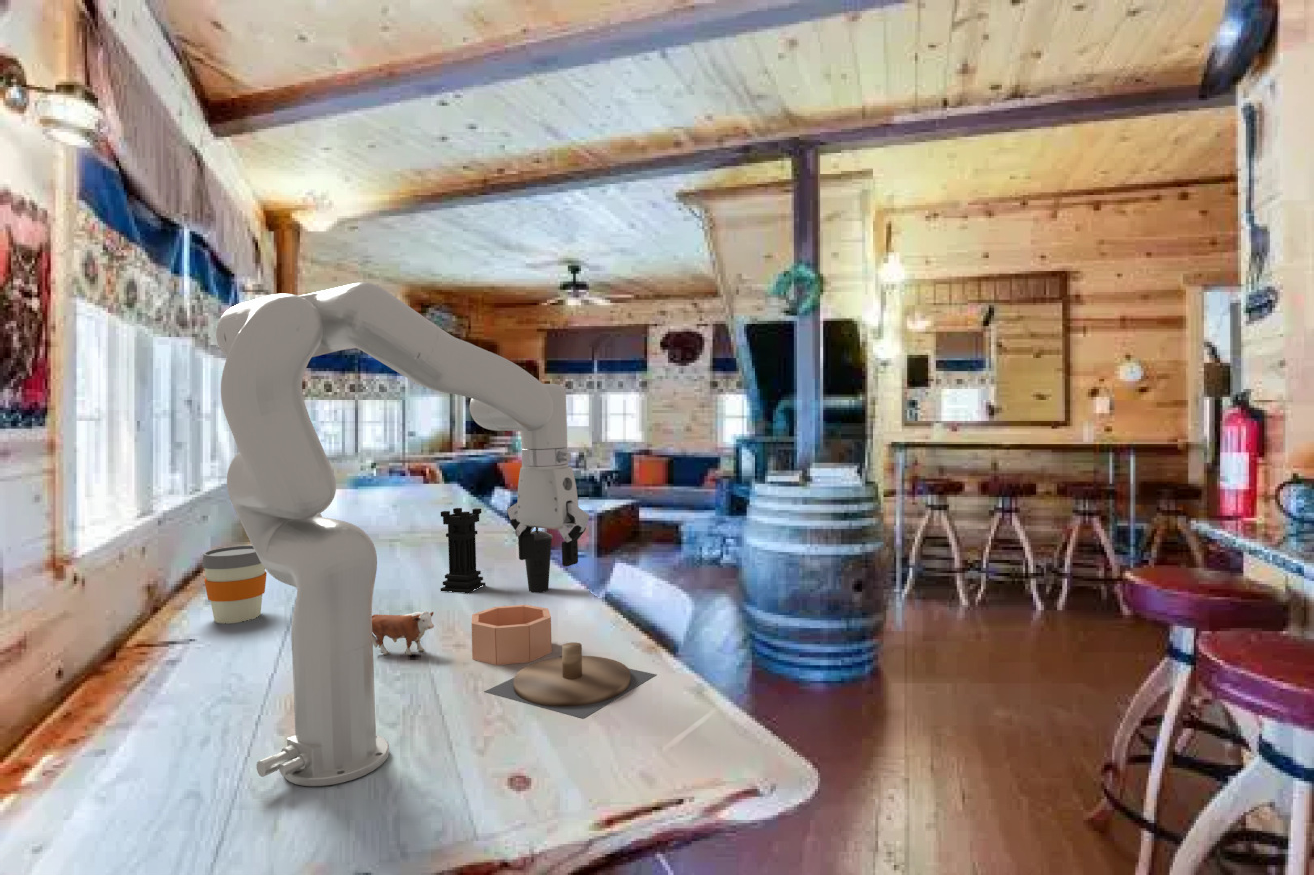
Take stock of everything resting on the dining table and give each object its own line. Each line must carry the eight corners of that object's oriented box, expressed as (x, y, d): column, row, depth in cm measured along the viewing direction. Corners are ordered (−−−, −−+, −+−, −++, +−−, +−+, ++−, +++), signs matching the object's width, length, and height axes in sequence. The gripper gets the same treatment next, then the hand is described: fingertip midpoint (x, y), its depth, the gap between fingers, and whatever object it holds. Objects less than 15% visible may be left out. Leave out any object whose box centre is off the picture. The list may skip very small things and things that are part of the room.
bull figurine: (430, 658, 135) (429, 614, 134) (364, 654, 137) (363, 611, 137) (442, 650, 139) (441, 608, 139) (378, 647, 142) (376, 605, 141)
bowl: (513, 671, 127) (512, 631, 127) (456, 657, 135) (455, 620, 135) (566, 648, 139) (565, 611, 139) (510, 636, 147) (509, 601, 147)
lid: (582, 716, 107) (581, 674, 107) (488, 691, 118) (487, 653, 117) (652, 674, 123) (652, 638, 123) (564, 655, 134) (563, 622, 133)
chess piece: (440, 591, 184) (438, 512, 183) (458, 584, 191) (456, 507, 190) (468, 593, 181) (466, 512, 181) (485, 585, 189) (483, 508, 188)
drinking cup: (519, 588, 185) (517, 509, 185) (548, 585, 189) (547, 507, 188) (527, 595, 178) (525, 513, 178) (557, 591, 182) (556, 511, 181)
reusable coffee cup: (265, 621, 160) (263, 553, 159) (199, 628, 155) (196, 558, 155) (272, 607, 172) (270, 543, 171) (210, 613, 167) (207, 548, 166)
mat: (583, 721, 107) (583, 718, 107) (484, 694, 117) (483, 691, 117) (656, 677, 124) (656, 674, 124) (564, 657, 134) (564, 654, 134)
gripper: (600, 458, 120) (603, 562, 120) (523, 455, 129) (526, 552, 130) (569, 462, 113) (572, 572, 114) (491, 459, 123) (495, 560, 124)
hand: (548, 561), depth 122 cm, fingers open, 9 cm apart
